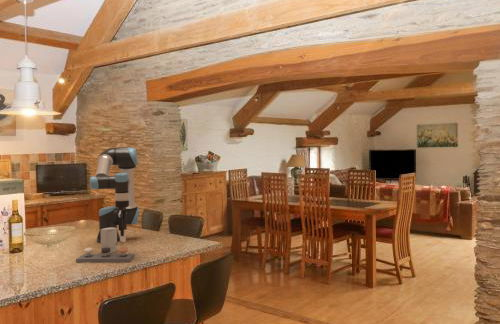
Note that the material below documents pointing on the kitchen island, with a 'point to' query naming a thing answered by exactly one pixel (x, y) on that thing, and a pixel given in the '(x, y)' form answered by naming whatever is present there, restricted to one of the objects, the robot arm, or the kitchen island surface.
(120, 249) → the button terracotta
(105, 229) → the skincare box
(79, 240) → the kitchen island surface
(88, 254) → the button cream
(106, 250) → the button black
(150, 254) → the kitchen island surface
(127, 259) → the button board
